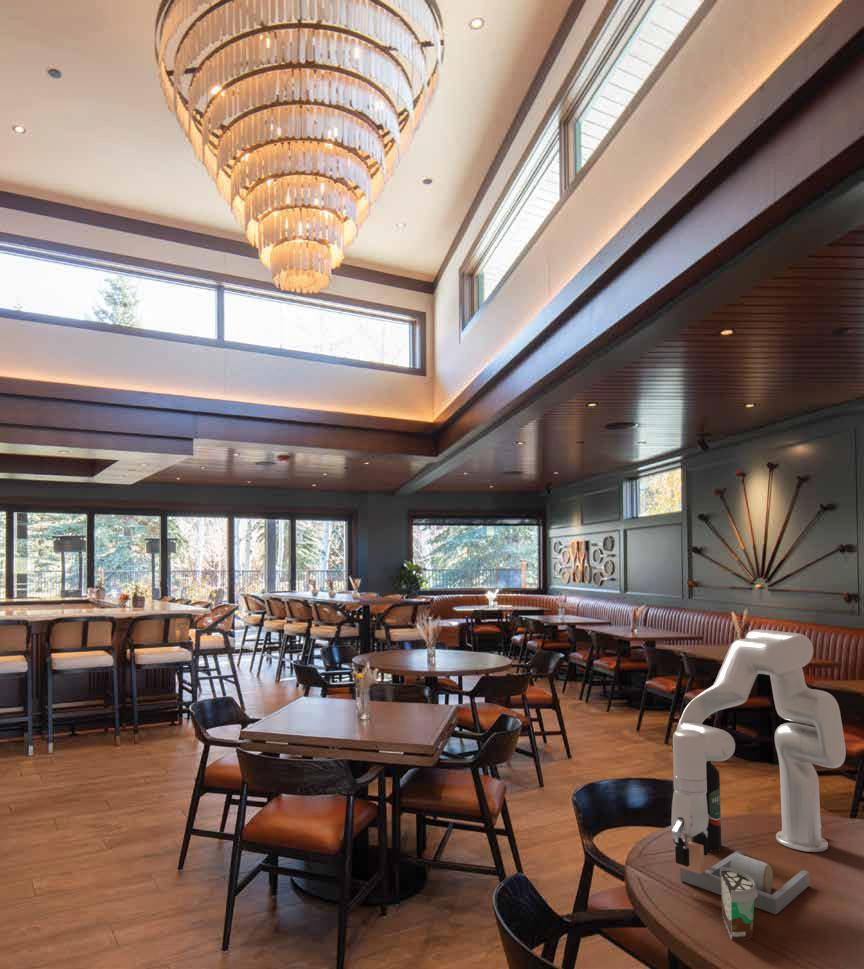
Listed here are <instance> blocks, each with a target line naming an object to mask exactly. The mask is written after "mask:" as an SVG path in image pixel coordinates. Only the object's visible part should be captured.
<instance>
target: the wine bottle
mask: <svg viewBox="0 0 864 969" xmlns="http://www.w3.org/2000/svg"><path fill="white" fill-rule="evenodd" d="M706 778H707V793H706V799H707V810H708V814H709V822H708V825H709V826H708V830H707V832H708V837H706V838H707V844H708V850H712V851H711V852H715V851H714V850H719V849H721V850H722V848H721V847H722V815H721V813H722V812H721V783H720V782H721V781H720V780H721V779H720V771H719V770H718V768H717V767H716V766H715V765H714V764H713V763H712V761H707V762H706ZM691 842H694V837H692V838H691ZM719 851H720V850H719Z"/></svg>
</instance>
